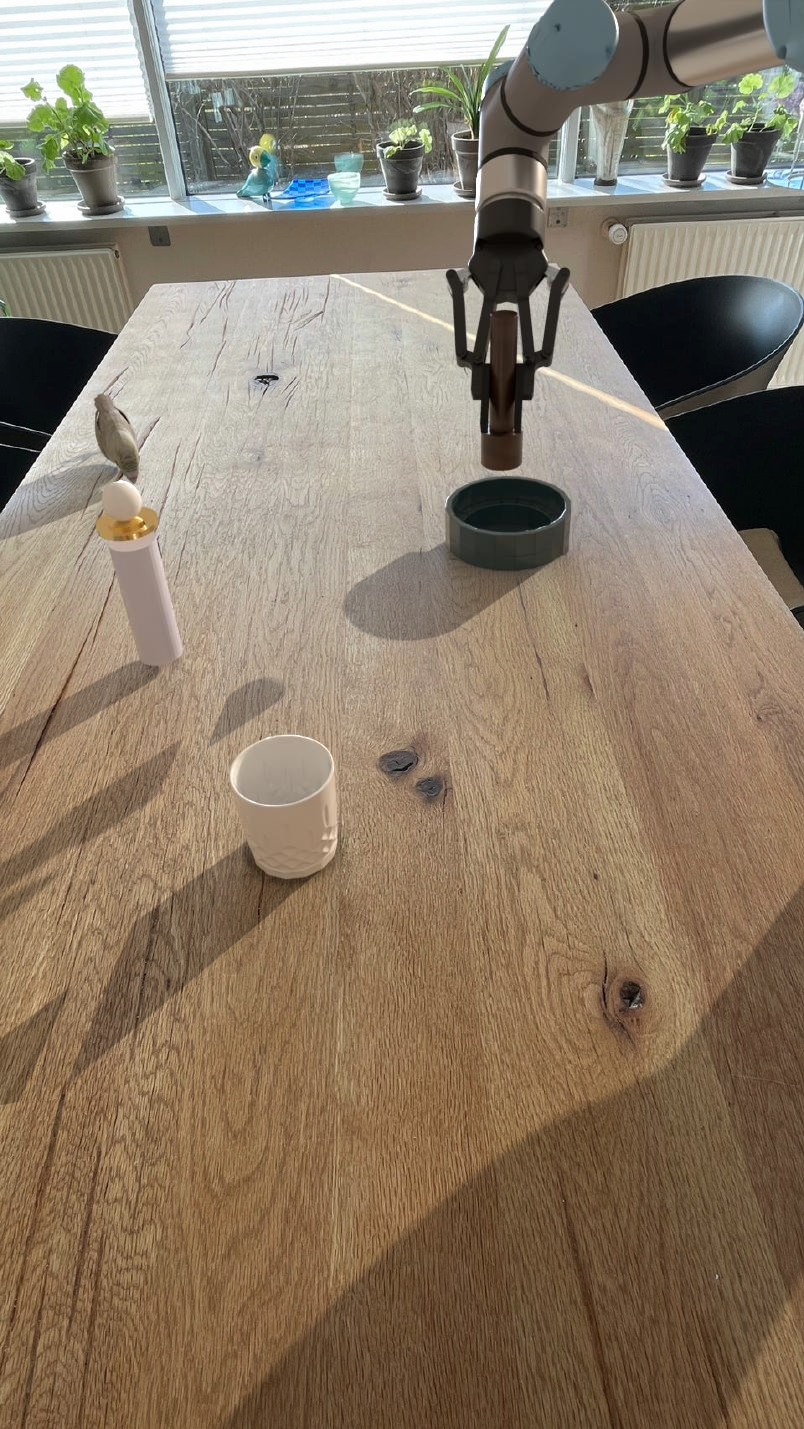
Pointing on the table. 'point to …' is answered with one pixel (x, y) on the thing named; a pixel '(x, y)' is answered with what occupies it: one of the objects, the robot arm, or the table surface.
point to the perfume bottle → (140, 573)
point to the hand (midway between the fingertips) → (500, 428)
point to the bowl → (508, 523)
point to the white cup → (287, 804)
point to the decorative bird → (116, 437)
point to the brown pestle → (502, 396)
